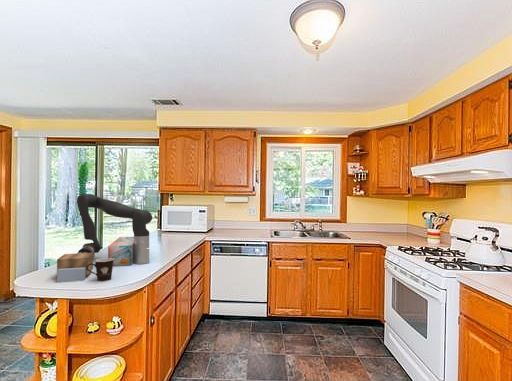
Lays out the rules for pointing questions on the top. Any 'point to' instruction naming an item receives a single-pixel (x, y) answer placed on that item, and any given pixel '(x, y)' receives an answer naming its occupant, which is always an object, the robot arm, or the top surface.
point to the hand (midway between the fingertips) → (79, 258)
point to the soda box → (122, 251)
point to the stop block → (70, 274)
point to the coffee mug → (103, 268)
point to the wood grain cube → (76, 261)
